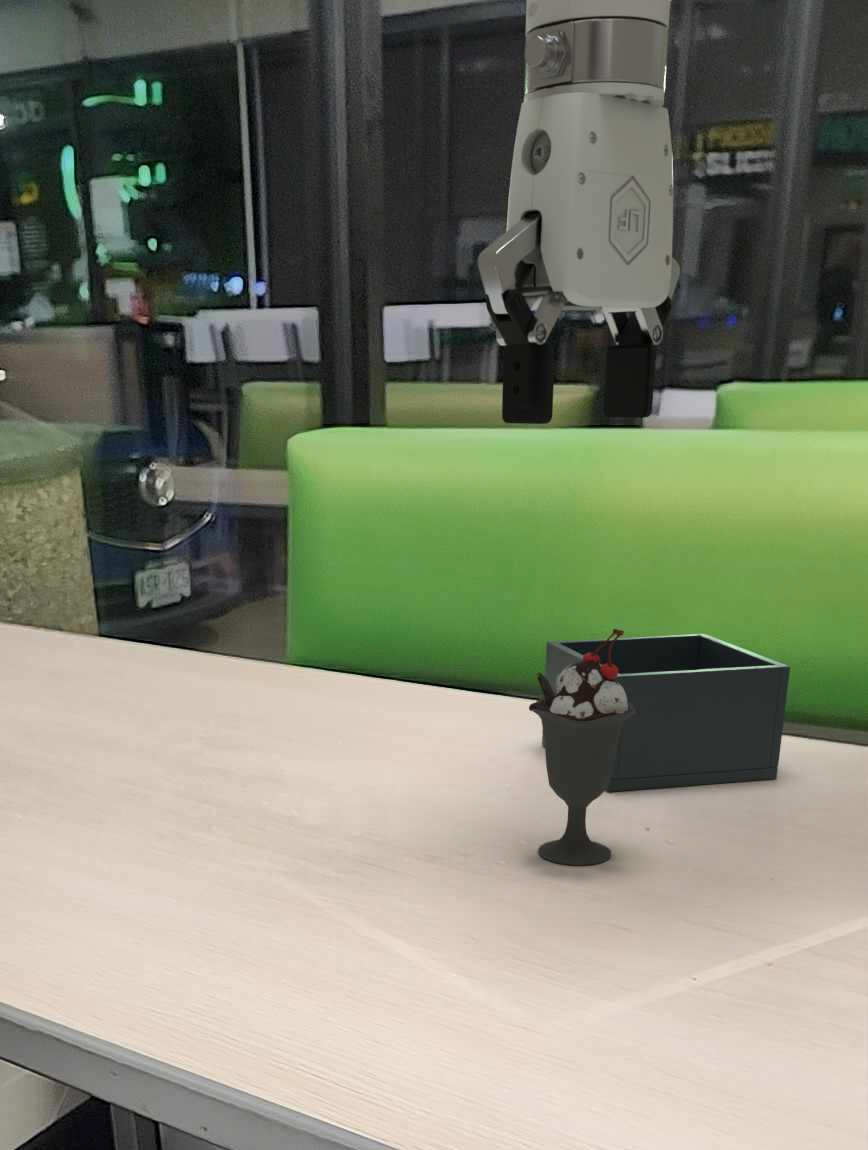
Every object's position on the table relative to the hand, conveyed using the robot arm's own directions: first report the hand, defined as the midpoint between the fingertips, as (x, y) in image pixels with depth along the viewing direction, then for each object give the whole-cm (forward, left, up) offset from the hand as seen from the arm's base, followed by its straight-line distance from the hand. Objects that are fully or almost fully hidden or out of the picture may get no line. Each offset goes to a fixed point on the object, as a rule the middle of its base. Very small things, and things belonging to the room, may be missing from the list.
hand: (578, 419), depth 78 cm
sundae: (-2, -1, -28) cm, 28 cm away
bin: (-17, -21, -27) cm, 38 cm away
